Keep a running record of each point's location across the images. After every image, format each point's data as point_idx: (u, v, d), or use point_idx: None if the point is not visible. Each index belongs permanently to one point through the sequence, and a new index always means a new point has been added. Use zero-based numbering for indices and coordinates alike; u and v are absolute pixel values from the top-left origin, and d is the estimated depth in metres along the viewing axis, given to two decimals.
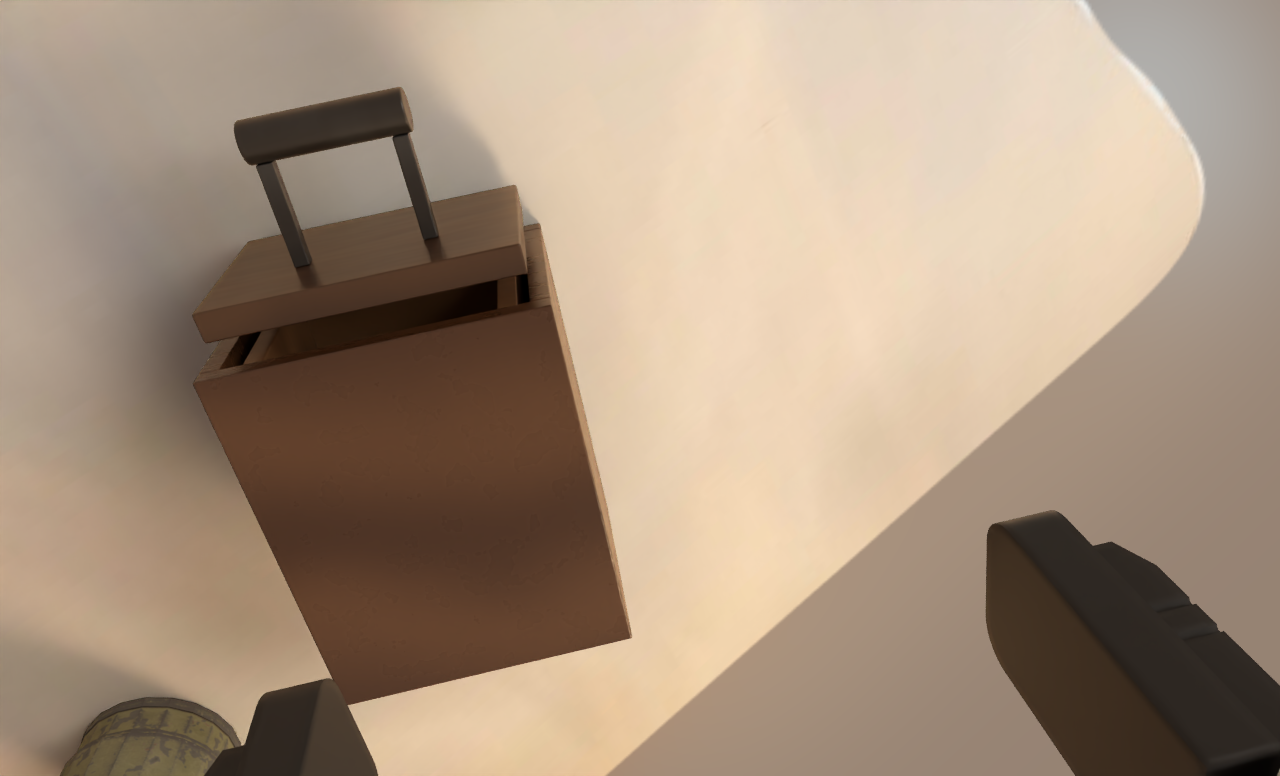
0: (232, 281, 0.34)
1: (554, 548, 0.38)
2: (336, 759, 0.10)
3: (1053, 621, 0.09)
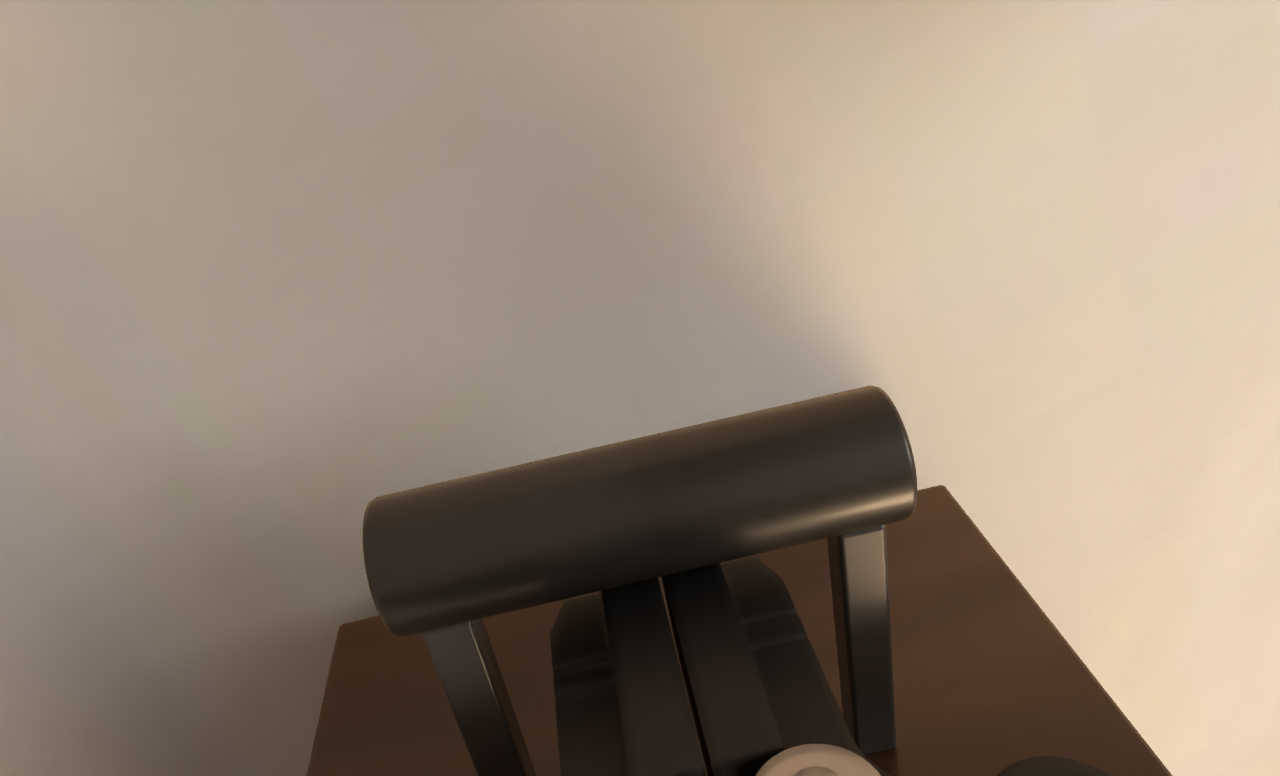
0: None
1: None
2: None
3: (676, 630, 0.10)
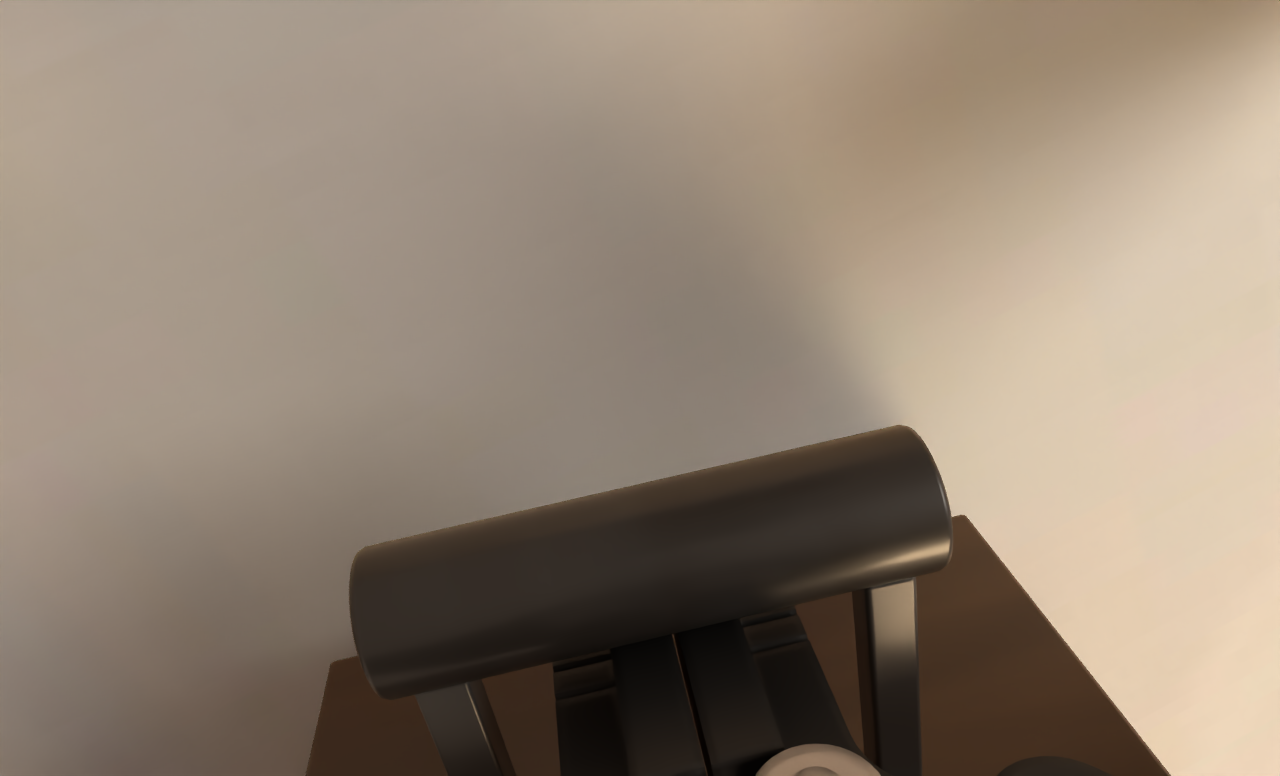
0: None
1: None
2: None
3: None
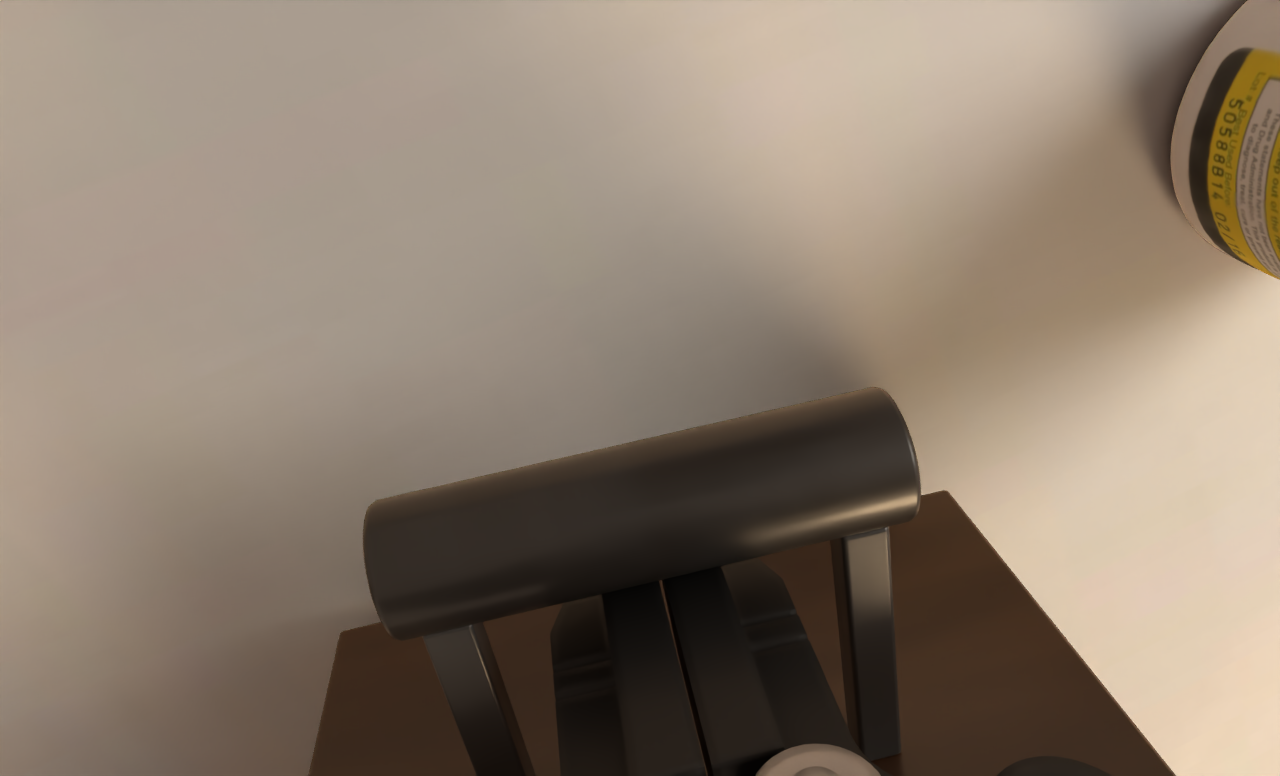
0: None
1: None
2: None
3: (675, 630, 0.10)
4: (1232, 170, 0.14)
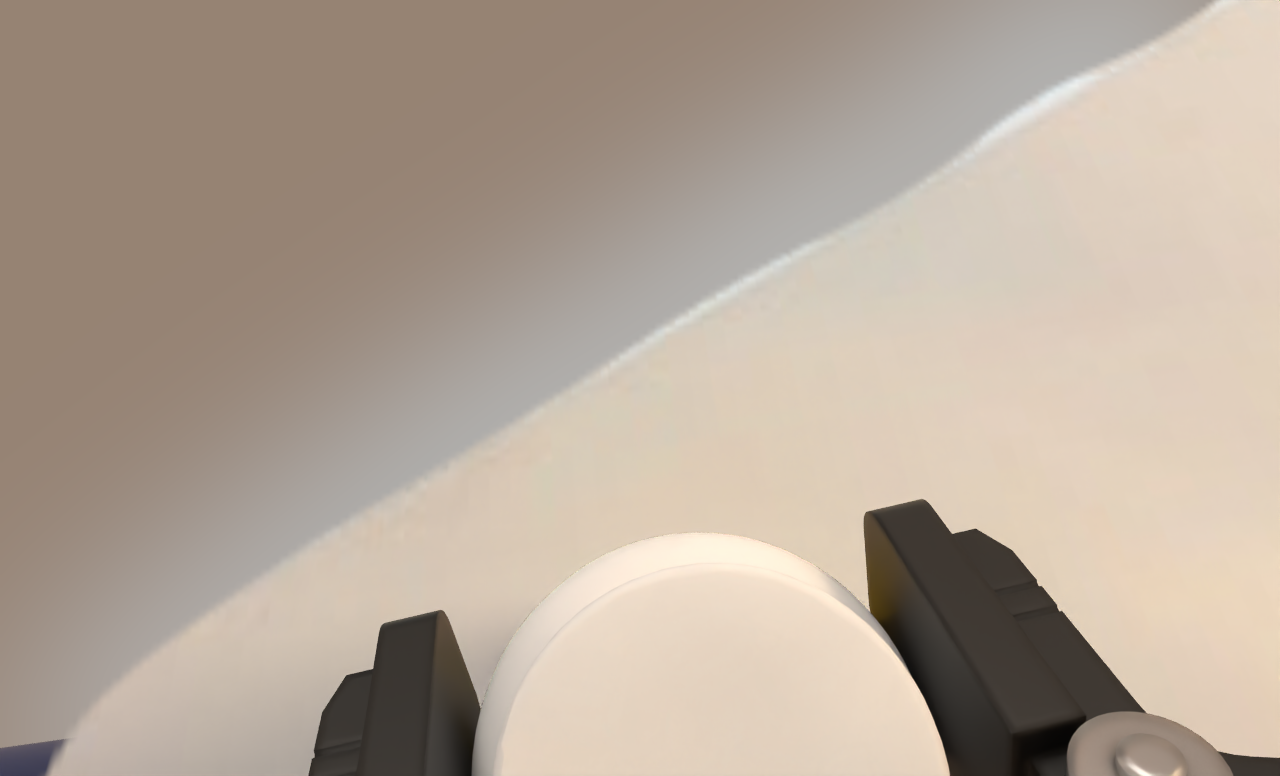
0: None
1: None
2: (452, 684, 0.11)
3: (911, 602, 0.10)
4: None
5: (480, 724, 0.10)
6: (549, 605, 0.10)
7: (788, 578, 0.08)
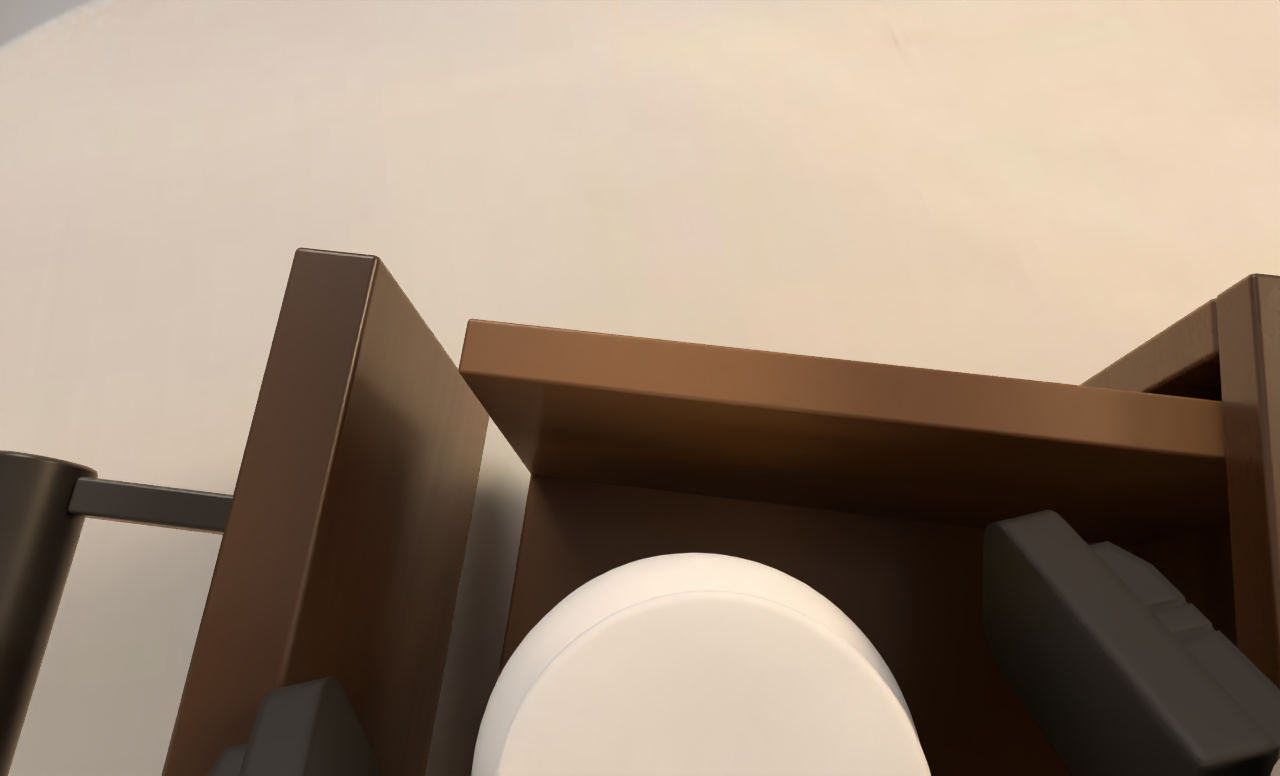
0: None
1: None
2: (339, 756, 0.10)
3: (1050, 621, 0.09)
4: None
5: (479, 743, 0.10)
6: (546, 626, 0.11)
7: (778, 606, 0.08)
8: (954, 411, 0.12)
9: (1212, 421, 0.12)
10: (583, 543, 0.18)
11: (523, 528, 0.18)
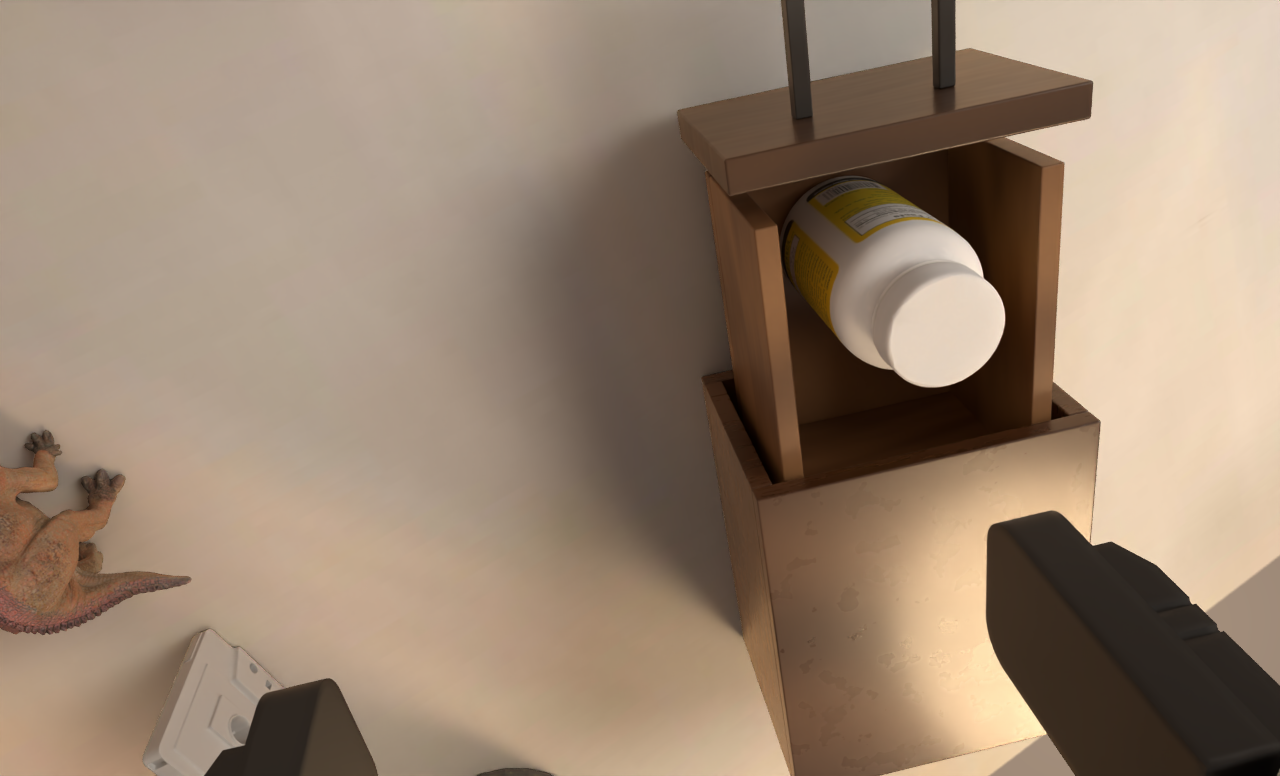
0: (725, 134, 0.30)
1: None
2: (336, 759, 0.10)
3: (1054, 621, 0.09)
4: (789, 268, 0.35)
5: (913, 230, 0.29)
6: (955, 239, 0.30)
7: None
8: (1040, 342, 0.32)
9: (1043, 417, 0.34)
10: (917, 163, 0.36)
11: None
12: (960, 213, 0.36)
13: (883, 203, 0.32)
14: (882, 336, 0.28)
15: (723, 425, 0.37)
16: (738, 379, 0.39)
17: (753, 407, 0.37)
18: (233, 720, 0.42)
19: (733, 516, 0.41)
